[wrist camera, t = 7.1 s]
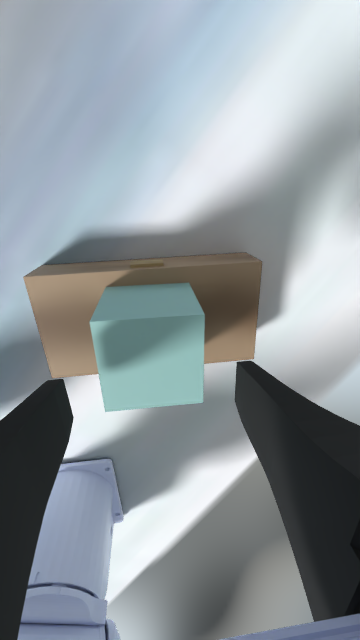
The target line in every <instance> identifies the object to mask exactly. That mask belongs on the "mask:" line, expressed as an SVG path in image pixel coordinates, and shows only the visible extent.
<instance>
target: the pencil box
mask: <svg viewBox="0 0 360 640" xmlns="http://www.w3.org/2000/svg"><path fill="white" fill-rule="evenodd" d="M261 270H262V261H260V260H259V259H257V258H255V257H253V256H251V255H250V254H248V253H230V254H214V255H198V256H182V257H166V258H149V259H133V260H117V261H101V262H85V263H68V264H52V265H41V266H40V267H38V268H37V269H35V270H33V271H32V272H30V273H29V274H27V275H26V276H24V277H23V278H24V281H25V285H26V288H27V292H28V295H29V299H30V302H31V306H32V309H33V313H34V316H35V320H36V323H37V327H38V330H39V334H40V337H41V341H42V344H43V348H44V351H45V355H46V358H47V362H48V365H49V369H50V372H51V376H52V378H61V377H71V376H81V375H92V374H99V373H98V367H97V362H96V356H95V350H94V345H93V339H92V333H91V327H90V320H91V318H92V315H93V313H94V311H95V309H96V307H97V305H98V302H99V300H100V298H101V296H102V294H103V292H104V290H105V287H114V286H134V285H153V284H172V283H189V284H190V286H191V288H192V290H193V292H194V294H195V296H196V298H197V300H198V302H199V304H200V306H201V308H202V310H203V312H204V314H205V328H204V364H206V363H217V362H227V361H238V360H248V359H254V350H255V339H256V327H257V316H258V304H259V293H260V281H261Z"/></svg>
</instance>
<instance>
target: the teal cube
mask: <svg viewBox="0 0 360 640" xmlns="http://www.w3.org/2000/svg"><path fill="white" fill-rule="evenodd" d="M90 327H91V333H92V339H93V345H94V350H95V356H96V362H97V367H98V373H99V379H100V385H101V390H102V396H103V402H104V407H105V412H110V411H120V410H131V409H142V408H152V407H163V406H174V405H184V404H195V403H203V382H204V328H205V314H204V312H203V310H202V308H201V306H200V304H199V302H198V300H197V298H196V296H195V294H194V292H193V290H192V288H191V286H190V284H189V283H172V284H153V285H134V286H114V287H105V290H104V292H103V294H102V296H101V298H100V300H99V302H98V305H97V307H96V309H95V311H94V313H93V315H92V318H91V320H90Z"/></svg>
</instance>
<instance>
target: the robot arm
mask: <svg viewBox="0 0 360 640" xmlns="http://www.w3.org/2000/svg"><path fill="white" fill-rule="evenodd" d="M235 402H236V406H237V409H238V412H239V415H240V418H241V421H242V423H243V426H244V428H245V430H246V432H247V434H248V437H249V439H250V441H251V443H252V445H253V447H254V449H255V452H256V454H257V456H258V458H259V460H260V462H261V464H262V466H263V469H264V471H265V473H266V475H267V478H268V480H269V483H270V485H271V488H272V491H273V494H274V497H275V500H276V502H277V505H278V508H279V511H280V514H281V517H282V520H283V523H284V526H285V528H286V531H287V534H288V538H289V541H290V544H291V547H292V550H293V553H294V556H295V559H296V563H297V566H298V569H299V572H300V575H301V579H302V582H303V586H304V589H305V592H306V596H307V599H308V602H309V606H310V609H311V612H312V616H313V619H314V622H311V623H306V624H301V625H295V626H290V627H284V628H279V629H273V630H268V631H263V632H257V633H252V634H246V635H241V636H236V637H230V638H225V639H219V640H360V426H359V425H357V424H355V423H352V422H350V421H348V420H346V419H344V418H342V417H339V416H337V415H335V414H333V413H332V412H330V411H328V410H326V409H324V408H322V407H320V406H318V405H317V404H315V403H313V402H311V401H310V400H308V399H306V398H305V397H303V396H302V395H300V394H298V393H297V392H295V391H294V390H292V389H291V388H289V387H288V386H286V385H285V384H283V383H282V382H280V381H279V380H277V379H276V378H275V377H273V376H272V375H270V374H269V373H268V372H266V371H265V370H263V369H262V368H261V367H259V366H258V365H257V364H255V363H254V362H252V361H242V362H237V369H236V387H235ZM72 423H73V414H72V410H71V406H70V403H69V399H68V395H67V391H66V388H65V384H64V380H63V379H57V380H48V381H46V382H45V383H44V384H42V385H41V386H40V387H39V388H38V389H37V390H35V391H34V392H33V393H32V394H31V395H30V396H29V397H27V398H26V399H25V400H24V401H23V402H22V403H21V404H19V405H18V406H17V407H16V408H15V409H14V410H12V411H11V412H10V413H9V414H8V415H7V416H5V417H4V418H3V419H2V420H0V640H120V636H119V633H118V631H117V629H116V625H115V623H114V621H113V620H112V619H106V611H107V600H104V599H105V595H106V591H107V585H108V575H109V565H110V555H111V546H112V536H113V526H114V523H120V522H122V521H123V517H124V516H123V511H122V506H121V501H120V496H119V492H118V487H117V482H116V477H115V472H114V467H113V462H112V460H110V459H100V460H92V461H84V462H76V463H67V464H61V463H62V460H63V457H64V454H65V451H66V448H67V445H68V442H69V437H70V433H71V428H72Z"/></svg>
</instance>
